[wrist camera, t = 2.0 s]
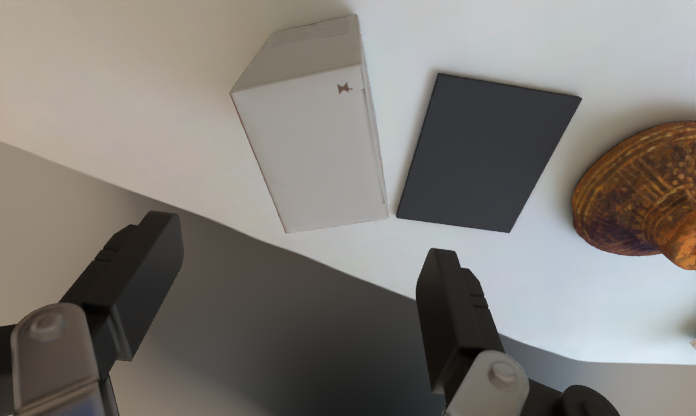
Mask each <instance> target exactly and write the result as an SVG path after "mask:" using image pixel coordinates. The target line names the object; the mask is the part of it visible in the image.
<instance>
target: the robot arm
mask: <svg viewBox="0 0 696 416" xmlns="http://www.w3.org/2000/svg"><path fill="white" fill-rule="evenodd" d="M183 257H184V247H183V240H182V232H181V225H180V219H179V215H178V214H176V213H169V212H161V211H153V210H151V211H149V212H148V213H147V215H146V216H145V217H144V218H143V220H142V221H141V222H140V224H139V225H131V224H130V225H128V226H127V227H125V228H123V229H122V230H120V231H119V232H117V233H115V234H114V235H113V236H112V237H111V239H110V240H109V241H108V242H107V243H106V245H105V246H104V248H103V250H101V251H100V252H99V253H98V254H97V256H96V257H95V260H94V261H92V262H91V263H90V264H89V266H88V267H87V268H86V269H85V271H84V272H83V273H82V274H81V275H80V277H79V278H78V279H77V280H76V282H75V283H74V284H73V285H72V286H71V288H70V289H69V290H68V291H67V292H66V294H65V295H64V296H63V297H62V299H61V300H60V301H59V302H58V303H55V304H50V305H46V306H44V307H41V308H39V309H37V310H35V311H33V312H31V313H29V314H28V315H27V316H25V317H24V318H23V319H22V320H21V321H20V322H18V324H14V325H8V326H1V327H0V416H8V415H12V414H14V415H13V416H119V411H118V408H117V403H116V399H115V395H114V391H113V387H112V383H111V379H110V376H109V371H110V370H111V368H112V366H113V364H114V362H115V361H116V360H121V361H132V359H133V357H134V355H135V353H136V351H137V350H138V348H139V345H140V344H141V342H142V340H143V338H144V336H145V334H146V332H147V331H148V329H149V327H150V325H151V323H152V321H153V319H154V317H155V315H156V314H157V312H158V310H159V308H160V306H161V304H162V302H163V300H164V299H165V297H166V295H167V293H168V291H169V289H170V287H171V285H172V284H173V281H174V280H175V278H176V276H177V274H178V272H179V270H180V268H181V266H182V262H183ZM416 301H417V307H418V313H419V319H420V325H421V331H422V337H423V343H424V349H425V354H426V361H427V367H428V372H429V378H430V385H431V390H432V393H435V394H445V399H446V404H447V405H446V406H445V408H444V410H443V412H442V413H441V415H440V416H620V415H619V413H618V412H617V410H616V409H615V408H614V406H613V405H612V404H611V403H610V402H609V401H608V400H607V399H606V398H605V397H603V396H602V395H601V394H600V393H598V392H597V391H595V390H593V389H591V388H589V387H586V386H582V385H572V386H570V387H568V388H567V389H566V390H565V391H564V392H563V393H562V392H560V391H557V390H555V389H552V388H550V387H547V386H545V385H543V384H540V383H538V382H535V381H533V380H531V379H529V378H528V377H527V375H526V373H525V371H524V370H523V368H522V367H521V366H520V365H519V364H518V363H517V362H516V361H515V360H514V359H513V358H511V357H510V356H508V355H506V354H505V351H504V349H503V346H502V343H501V340H500V337H499V335H498V332H497V329H496V326H495V324H494V321H493V318H492V315H491V312H490V310H489V309H488V304H487V301H486V299H485V298H484V293H483V290H482V287H481V285H480V282H479V280H478V279H477V278H476V277H475V276H474V274H473V273H472V272H471V271H470V269H467V268H461V267H460V263H459V260H458V257H457V254H456V252H455V251H451V250H444V249H436V248H431V249H430V250H429V252H428V254H427V257H426V260H425V262H424V265H423V267H422V270H421V273H420V275H419V278H418V281H417V285H416Z"/></svg>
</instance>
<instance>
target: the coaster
mask: <svg viewBox="0 0 696 416" xmlns="http://www.w3.org/2000/svg"><path fill="white" fill-rule="evenodd" d="M581 100H582V98H580V97H577V96H571V95H566V94H560V93H554V92H548V91H542V90H536V89H530V88H524V87H518V86H512V85H506V84H500V83H494V82H488V81H483V80H477V79H471V78H465V77H459V76H453V75H447V74H441V73H438V75H437V79H436V82H435V85H434V89H433V92H432V96H431V99H430V102H429V106H428V109H427V113H426V116H425V119H424V123H423V126H422V129H421V133H420V136H419V140H418V143H417V146H416V150H415V153H414V157H413V160H412V163H411V167H410V170H409V173H408V177H407V180H406V184H405V187H404V190H403V194H402V197H401V200H400V204H399V207H398V211H397V214H396V217H397V218H401V219H408V220H416V221H423V222H431V223H438V224H446V225H453V226H461V227H468V228H476V229H483V230H490V231H498V232H505V233H510V231H511V229H512V228H513V226H514V224H515V222H516V220H517V218H518V216H519V215H520V213H521V211H522V209H523V207H524V205H525V204H526V202H527V200H528V198H529V196H530V194H531V192H532V191H533V189H534V187H535V185H536V183H537V181H538V179H539V178H540V176H541V174H542V172H543V170H544V168H545V167H546V165H547V163H548V161H549V159H550V157H551V155H552V154H553V152H554V150H555V148H556V146H557V144H558V143H559V141H560V139H561V137H562V135H563V133H564V131H565V130H566V128H567V126H568V124H569V122H570V120H571V119H572V117H573V115H574V113H575V111H576V109H577V107H578V106H579V104H580V102H581Z"/></svg>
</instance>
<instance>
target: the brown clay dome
mask: <svg viewBox="0 0 696 416" xmlns="http://www.w3.org/2000/svg"><path fill="white" fill-rule="evenodd" d="M571 204H572V208H573V218H574V219H573V226H574V228H575V230H576V232H577V233H578V235H579V236H580V237H581V238H583V239H584V240H585V241H586V242H587V243H588V244H590V245H591V246H594V247H595V248H597V249H600V250H602V251H606V252H609V253H614V254H618V255H626V256H647V255H656V254H661V253H662V254H663V255H664V256H665V257H667V258H668V259H669V260H670V261H671V262H673V263H674V264H675V265H677V266H679V267H681V268H683V269H686V270H696V121H680V122H673V123H666V124H662V125H658V126H656V127H653V128H650V129H647V130H645V131H642V132H640V133H638V134H636V135H634V136H632V137H630V138H628V139H626V140H625V141H623V142H621V143H620V144H618V145H617V146H615V147H614V148H613V149H611V150H610V151H609V152H607V153H606V154H605V155H604V156H602V157H601V158H600V159H599V160H598V161H597V162H596V163H595V164H594V165H593V166H592V167H591V168H590V169H589V170H588V171H587V173H586V174H585V175H584V176H583V178H582V179H581V180H580V182H579V183H578V185H577V187H576V189H575V191H574V194H573V197H572V201H571Z"/></svg>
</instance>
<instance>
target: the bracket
mask: <svg viewBox="0 0 696 416" xmlns="http://www.w3.org/2000/svg"><path fill="white" fill-rule="evenodd" d="M690 344H691V345H692V346H693V347H694V348H695V349H696V339H695V340H693V341H691V342H690Z"/></svg>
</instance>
